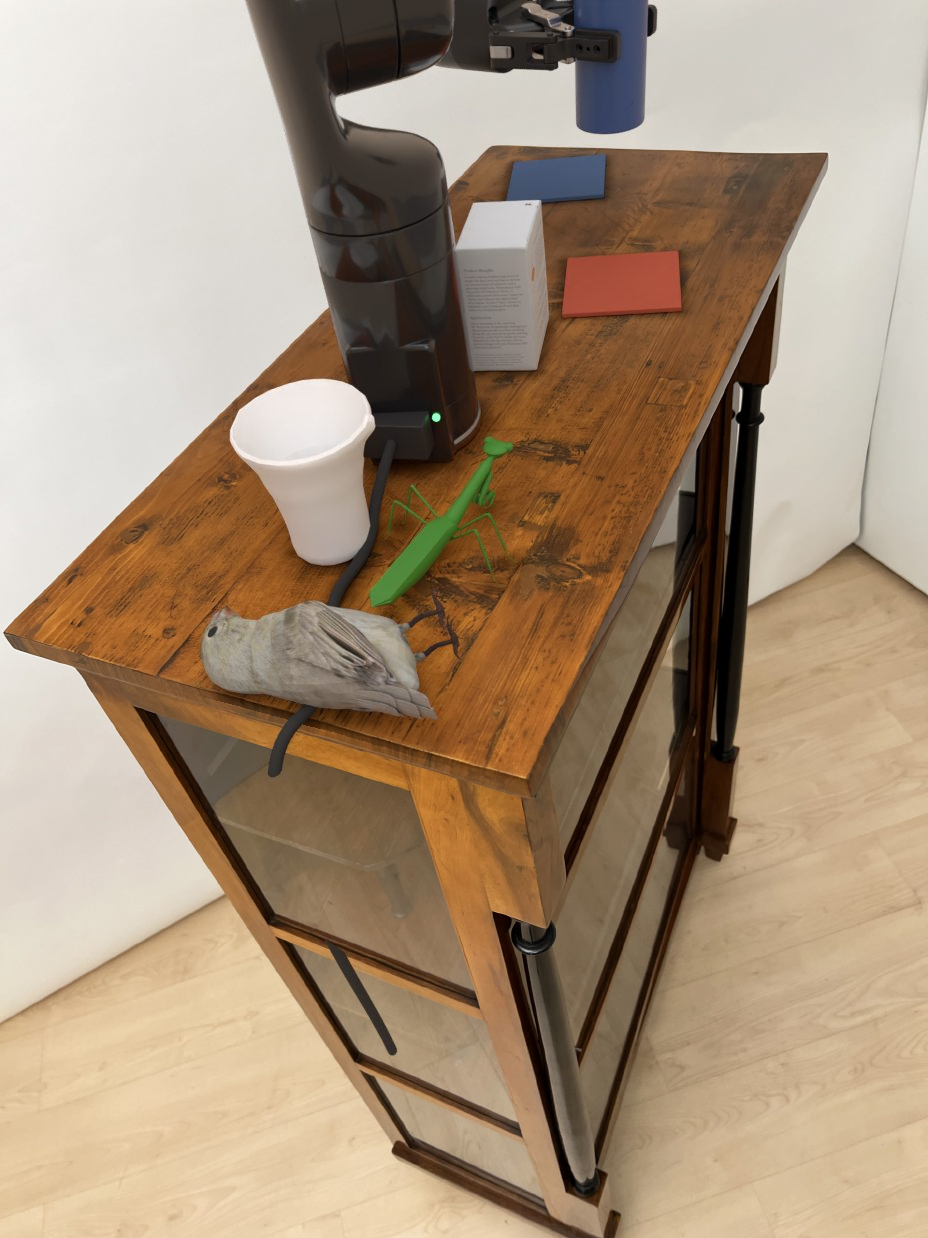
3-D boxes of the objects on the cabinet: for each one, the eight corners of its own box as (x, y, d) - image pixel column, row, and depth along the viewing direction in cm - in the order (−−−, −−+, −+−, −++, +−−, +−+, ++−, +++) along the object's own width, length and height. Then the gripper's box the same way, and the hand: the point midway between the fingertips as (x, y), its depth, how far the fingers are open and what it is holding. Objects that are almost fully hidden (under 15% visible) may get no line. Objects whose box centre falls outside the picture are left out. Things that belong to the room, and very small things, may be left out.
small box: (487, 321, 82) (471, 200, 75) (551, 319, 81) (542, 196, 73) (469, 372, 77) (451, 248, 70) (537, 372, 76) (526, 245, 68)
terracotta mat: (681, 311, 79) (681, 306, 79) (561, 317, 81) (561, 313, 81) (678, 254, 86) (678, 250, 86) (567, 261, 88) (567, 257, 87)
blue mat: (603, 197, 96) (603, 193, 96) (506, 205, 98) (505, 201, 97) (605, 157, 103) (605, 153, 102) (514, 165, 104) (514, 161, 104)
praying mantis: (564, 512, 64) (563, 456, 61) (437, 652, 56) (428, 597, 53) (452, 474, 69) (445, 420, 65) (318, 600, 60) (303, 546, 57)
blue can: (651, 128, 82) (657, -37, 73) (582, 138, 82) (581, -25, 73) (635, 104, 86) (639, -54, 77) (570, 114, 86) (567, -43, 77)
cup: (382, 586, 61) (348, 463, 54) (252, 576, 63) (202, 456, 56) (419, 497, 67) (392, 375, 59) (298, 491, 69) (258, 372, 62)
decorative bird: (202, 578, 57) (154, 682, 53) (451, 573, 52) (421, 688, 47) (242, 631, 61) (201, 731, 57) (477, 631, 56) (451, 742, 51)
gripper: (415, -4, 78) (597, 7, 71) (505, -51, 86) (677, -46, 79) (427, 94, 84) (597, 114, 76) (510, 42, 91) (672, 55, 84)
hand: (637, 33), depth 78 cm, fingers closed on blue can, 6 cm apart
